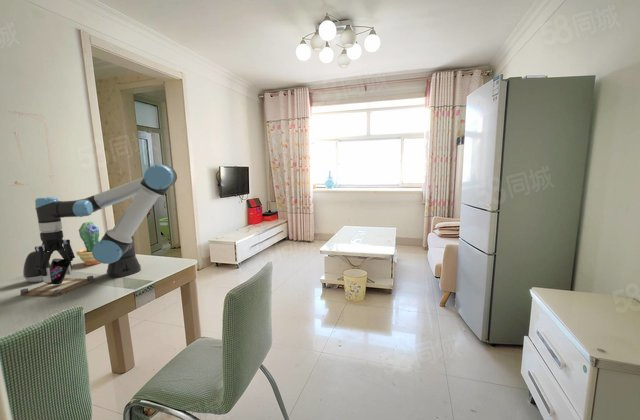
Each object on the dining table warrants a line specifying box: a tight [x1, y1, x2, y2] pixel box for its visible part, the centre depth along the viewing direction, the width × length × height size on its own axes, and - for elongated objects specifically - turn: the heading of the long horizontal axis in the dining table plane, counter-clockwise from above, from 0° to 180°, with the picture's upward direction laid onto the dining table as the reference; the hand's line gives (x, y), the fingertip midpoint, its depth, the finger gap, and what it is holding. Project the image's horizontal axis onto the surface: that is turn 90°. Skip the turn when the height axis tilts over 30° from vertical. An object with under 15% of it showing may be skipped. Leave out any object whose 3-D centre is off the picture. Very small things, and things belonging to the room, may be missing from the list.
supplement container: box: [44, 258, 72, 284], centre depth 129 cm, size 7×7×10 cm
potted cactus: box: [75, 221, 101, 266], centre depth 165 cm, size 15×16×25 cm
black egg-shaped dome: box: [22, 250, 51, 283], centre depth 139 cm, size 10×10×15 cm
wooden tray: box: [19, 275, 95, 297], centre depth 130 cm, size 18×18×2 cm
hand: (58, 278), depth 130 cm, fingers closed on supplement container, 9 cm apart
